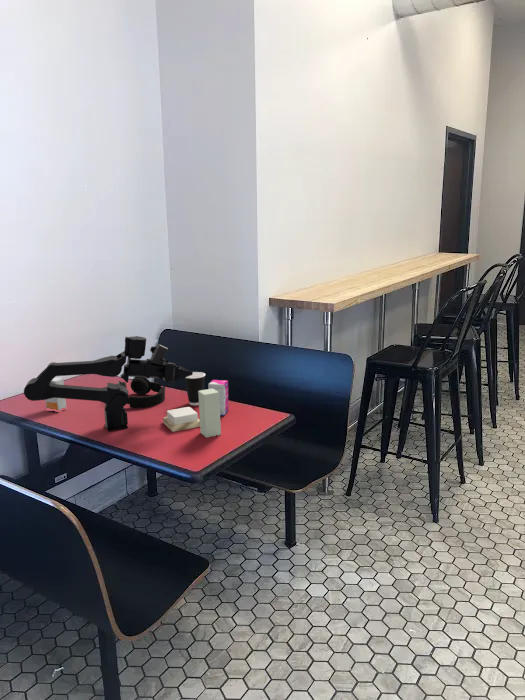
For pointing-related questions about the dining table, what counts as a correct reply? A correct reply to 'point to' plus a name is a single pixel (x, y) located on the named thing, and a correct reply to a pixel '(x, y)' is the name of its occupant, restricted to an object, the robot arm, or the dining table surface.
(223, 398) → the supplement box
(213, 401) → the tall block
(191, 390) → the dixie cup
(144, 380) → the headphones
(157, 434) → the dining table surface
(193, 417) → the tower top slab
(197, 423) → the tower base slab
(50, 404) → the skincare box
